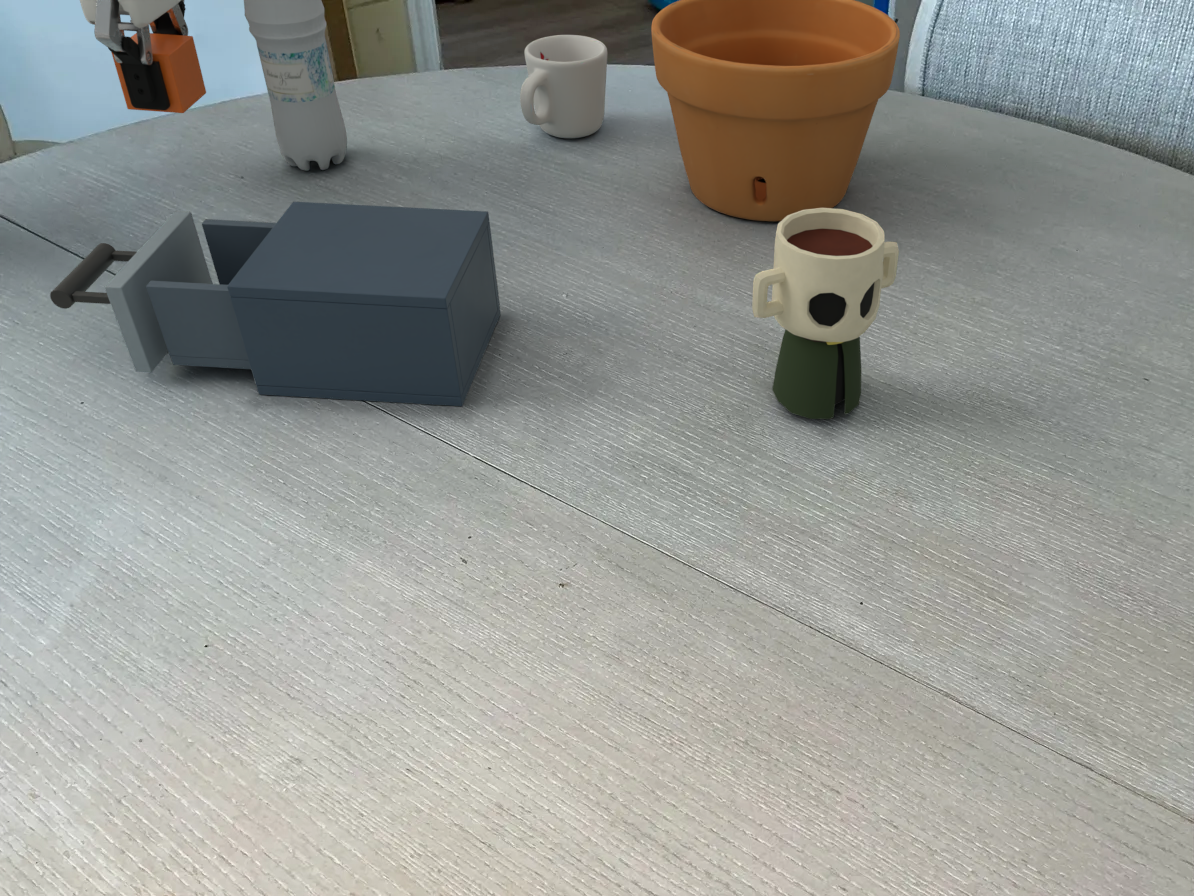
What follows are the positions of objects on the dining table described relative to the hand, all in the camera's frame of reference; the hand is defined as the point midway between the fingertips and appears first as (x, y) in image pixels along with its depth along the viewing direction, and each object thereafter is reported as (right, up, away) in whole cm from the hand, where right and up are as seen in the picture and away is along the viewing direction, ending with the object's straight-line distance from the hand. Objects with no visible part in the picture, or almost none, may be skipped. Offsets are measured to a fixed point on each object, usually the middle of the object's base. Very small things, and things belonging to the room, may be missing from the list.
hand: (165, 93), depth 104 cm
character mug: (+56, -30, -20) cm, 67 cm away
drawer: (+12, -24, -17) cm, 32 cm away
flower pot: (+54, -7, +5) cm, 54 cm away
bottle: (+11, -4, +8) cm, 14 cm away
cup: (+33, +1, +14) cm, 36 cm away
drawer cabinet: (+24, -26, -17) cm, 39 cm away
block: (0, -1, 0) cm, 1 cm away
